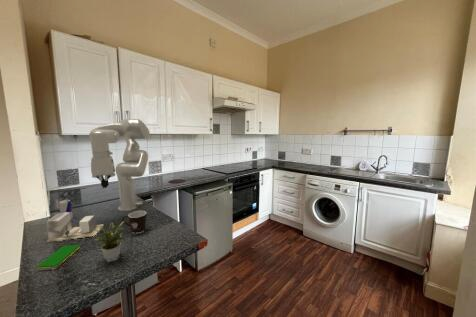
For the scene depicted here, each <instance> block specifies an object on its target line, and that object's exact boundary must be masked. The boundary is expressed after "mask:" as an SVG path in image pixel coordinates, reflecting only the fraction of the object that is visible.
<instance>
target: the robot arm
mask: <svg viewBox="0 0 476 317" xmlns="http://www.w3.org/2000/svg"><path fill="white" fill-rule="evenodd" d="M150 134H151V133H150V129H149V128H148V126H147V125H146V123H145V122H143V121H142V120H141V119H139V118H123V119H121V120H119V121H117V122H116V123H111V124H106V125H101V126H98V127H94V128H92V129H91V130H90V132H89V135H88V138H89V140H90V146H91V150H92V152H91V153H92V157H91V159H90V160H91V161H90V171H91V178H92V179H93V178H94V179H97V180H99V181H100V184H101V187H102V189H106V188H108V186H109V183H110V182H109V179H110V178H113V177H115V176H116V177H117V181H118V182H117V184H118V195H119V206H118V207H117V210H118V211H120V212H129V211H130V212H131V211H133V210H136V209H138V208H139V206H141V205H143V201H142V200H140V201H139V200H138V199H137V197H136V186H135V185H136V183H135V180H134V179H133V178H134V177H136V178H138V177H143V175H145V172H146V168H147V164H148V160H149V154H148V152H147V151H146V150H143V149H140V148H141V146H140V144H139V143H138V141H136V140H146V139H148V138H149V137H150V136H151V135H150ZM121 137H124V138H125V142H126V147H125V149H124V152H123V155H122V161H123V162H119V163H118V164H117V165H116V166H115V163H114V159H113V156H112V155H113V153H114V152H113V151H111V150H110V145H109V144H116V143H118V142H119V140H120V138H121Z"/></svg>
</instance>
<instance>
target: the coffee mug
mask: <svg viewBox="0 0 476 317" xmlns="http://www.w3.org/2000/svg"><path fill="white" fill-rule="evenodd" d="M125 218H127V219H128V220H129V223H127V222H126V221H125ZM121 220H122V222H123V221H125V222H124V223H123V224H125V225H126V226H129V227H130V231H131V233H132V232H135V233H136V232H141V231H143V230H145V231H146V226H147V224H146V223H147V211H145V210H136V211H131V213H128V215H125V216H123V217H122V219H121Z"/></svg>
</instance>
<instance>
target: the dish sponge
mask: <svg viewBox="0 0 476 317" xmlns="http://www.w3.org/2000/svg"><path fill="white" fill-rule="evenodd" d="M79 248H80V249H81V245H80V244H74V245H63V246H61V247H60V248H59V249H58V250H56V251H55V252H54V253H52V254H51V255H49V256H48V257H46V259H45V260H43V261H42V262H40V263H39V264H38V265H37V269H38V268H50V267H57V266H58V265H60V264H61V263H62V262H64V261H65V260H66V259H67V258H68V257H69V256H71V255H72V254H73V253H74V252H75V251H76V250H78V249H79Z"/></svg>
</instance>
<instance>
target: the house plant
mask: <svg viewBox="0 0 476 317" xmlns="http://www.w3.org/2000/svg"><path fill="white" fill-rule="evenodd" d="M124 222H126V220H124V221H123V220H122V222H121V223H120V224H119V225H118V226H116V225H114V222H112V221H111V222H110V224H109V226H108V227H109V229H108V231H106V229H105V228H104V226H101V224H99V225H100V226H101V227H100V226H99V228H101V230H100V231H97V230H95V229H93V230H95V231H97V232H98V234H99V235H98V234H96V236H97V237H94V236H93V237H92V238H94V242H102V243H101V244H100V245H101V248H100V249H101V253H102V254H103V258H104V259H105V258H106V259H110V258H114V257H116V256H118V255H119V254H121V246H122V242H124V238H123V236H122V234H123V231H120V232H119V230H123V229H124V228H125V227H122V225H123V224H125V223H124ZM115 227H116V229H114V228H115ZM101 231H102V232H103V233H102V232H101ZM100 235H101V236H102V237H101V236H100ZM98 245H99V243H96V246H98Z"/></svg>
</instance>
